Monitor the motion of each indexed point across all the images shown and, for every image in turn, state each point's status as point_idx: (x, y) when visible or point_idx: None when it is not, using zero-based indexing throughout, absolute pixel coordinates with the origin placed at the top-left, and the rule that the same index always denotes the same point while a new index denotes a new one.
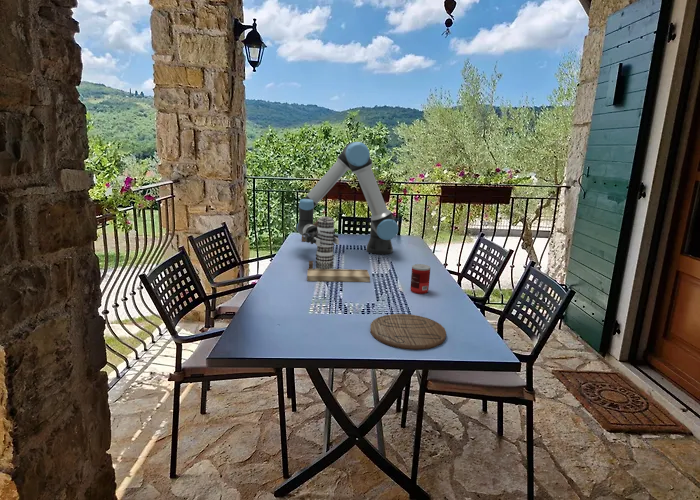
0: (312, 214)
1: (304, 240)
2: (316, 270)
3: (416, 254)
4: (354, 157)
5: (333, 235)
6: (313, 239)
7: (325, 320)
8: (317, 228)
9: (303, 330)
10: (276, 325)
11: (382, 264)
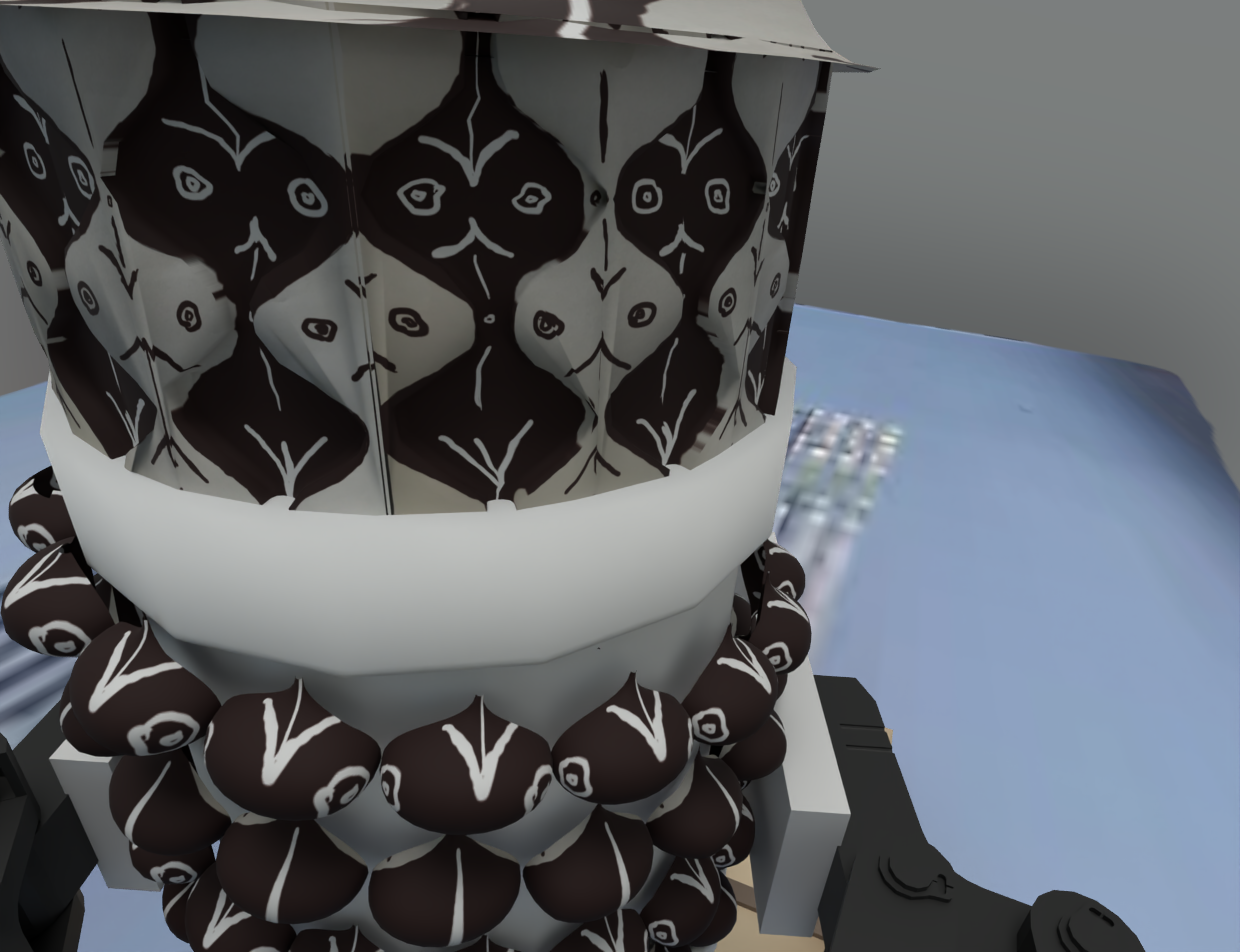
0: None
1: None
2: (738, 875)
3: None
4: None
5: (14, 765)
6: (865, 735)
7: (841, 389)
8: (780, 475)
9: (928, 376)
10: (1032, 408)
11: None
